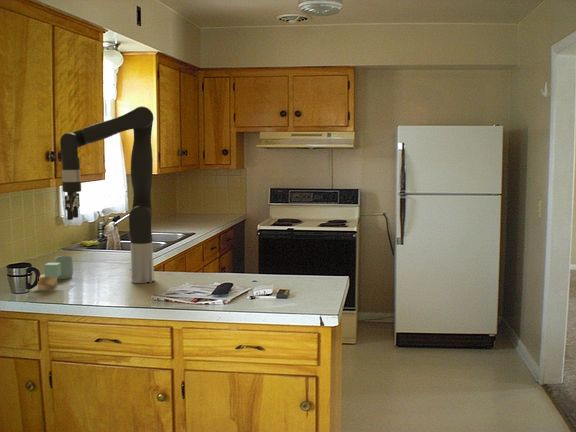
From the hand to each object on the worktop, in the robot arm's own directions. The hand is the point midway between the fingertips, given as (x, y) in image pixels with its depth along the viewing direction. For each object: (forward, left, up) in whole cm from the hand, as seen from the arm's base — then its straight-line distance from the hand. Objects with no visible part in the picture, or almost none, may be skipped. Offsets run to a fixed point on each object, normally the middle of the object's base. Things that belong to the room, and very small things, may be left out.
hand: (73, 218), depth 286 cm
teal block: (+6, +12, -22) cm, 26 cm away
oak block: (+8, +12, -27) cm, 31 cm away
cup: (+7, -9, -28) cm, 31 cm away
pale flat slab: (+6, +12, -28) cm, 31 cm away
